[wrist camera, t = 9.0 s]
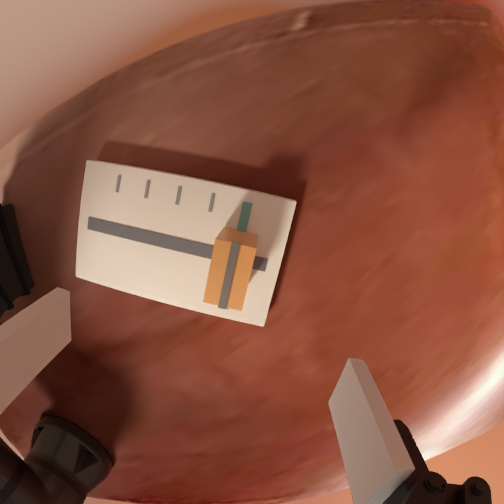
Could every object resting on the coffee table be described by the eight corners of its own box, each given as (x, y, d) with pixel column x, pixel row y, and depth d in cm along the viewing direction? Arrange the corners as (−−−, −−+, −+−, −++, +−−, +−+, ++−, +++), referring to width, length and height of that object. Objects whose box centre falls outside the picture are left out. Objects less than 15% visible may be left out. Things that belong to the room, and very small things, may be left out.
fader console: (263, 317, 31) (263, 327, 29) (84, 270, 31) (75, 276, 29) (294, 199, 28) (296, 201, 26) (96, 160, 28) (86, 160, 26)
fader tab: (245, 289, 28) (241, 313, 23) (212, 281, 28) (202, 303, 23) (258, 233, 27) (257, 247, 22) (224, 225, 27) (215, 237, 22)
